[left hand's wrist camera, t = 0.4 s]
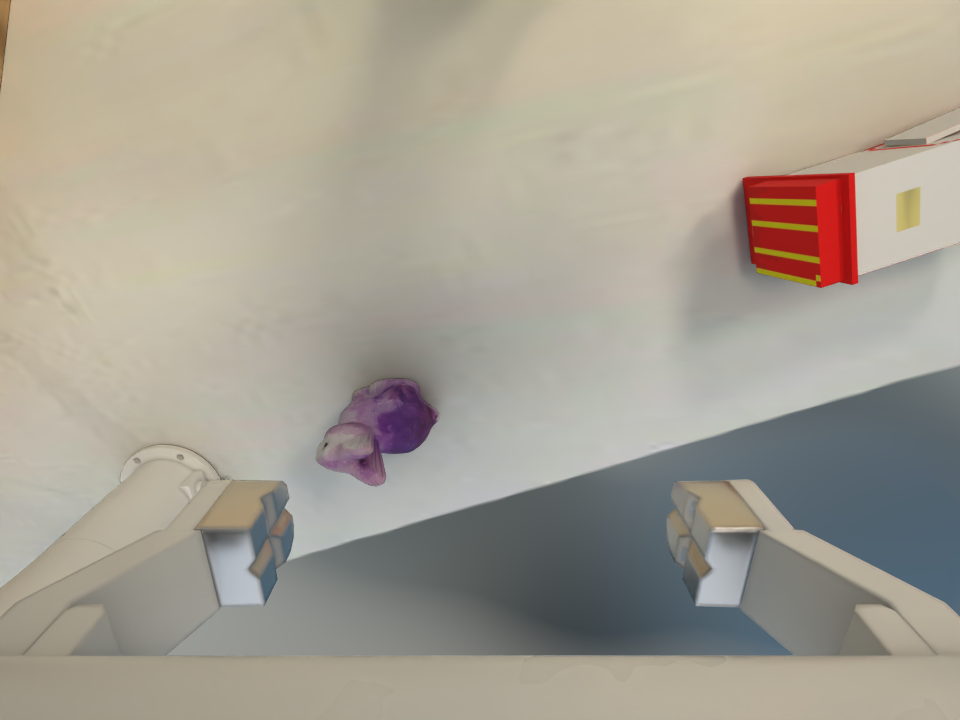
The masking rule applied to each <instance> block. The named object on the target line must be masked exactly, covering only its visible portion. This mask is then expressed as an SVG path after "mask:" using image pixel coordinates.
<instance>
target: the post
mask: <svg viewBox="0 0 960 720" xmlns="http://www.w3.org/2000/svg"><path fill="white" fill-rule="evenodd" d="M9 8H10V0H0V87H1V78H2V69H3V60H4V52H5V43H6V34H7V26H8V17H9Z"/></svg>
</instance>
